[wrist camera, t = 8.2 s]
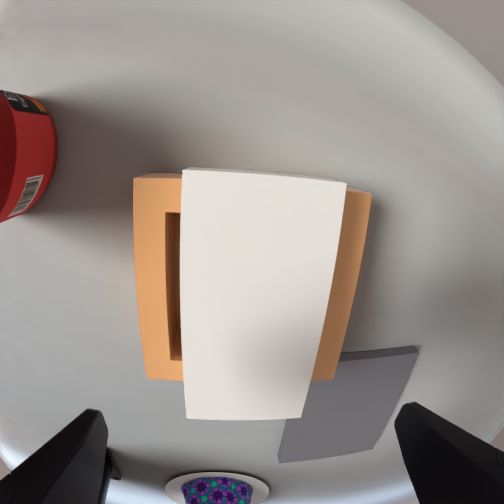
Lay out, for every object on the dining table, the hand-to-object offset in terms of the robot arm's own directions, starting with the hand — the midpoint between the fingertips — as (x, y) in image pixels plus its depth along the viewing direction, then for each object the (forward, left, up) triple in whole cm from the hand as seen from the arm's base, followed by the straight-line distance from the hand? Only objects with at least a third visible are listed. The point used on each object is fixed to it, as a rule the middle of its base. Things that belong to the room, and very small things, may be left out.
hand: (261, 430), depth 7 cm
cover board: (0, 0, -8) cm, 8 cm away
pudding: (-28, +1, -12) cm, 30 cm away
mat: (-13, -10, -12) cm, 20 cm away
